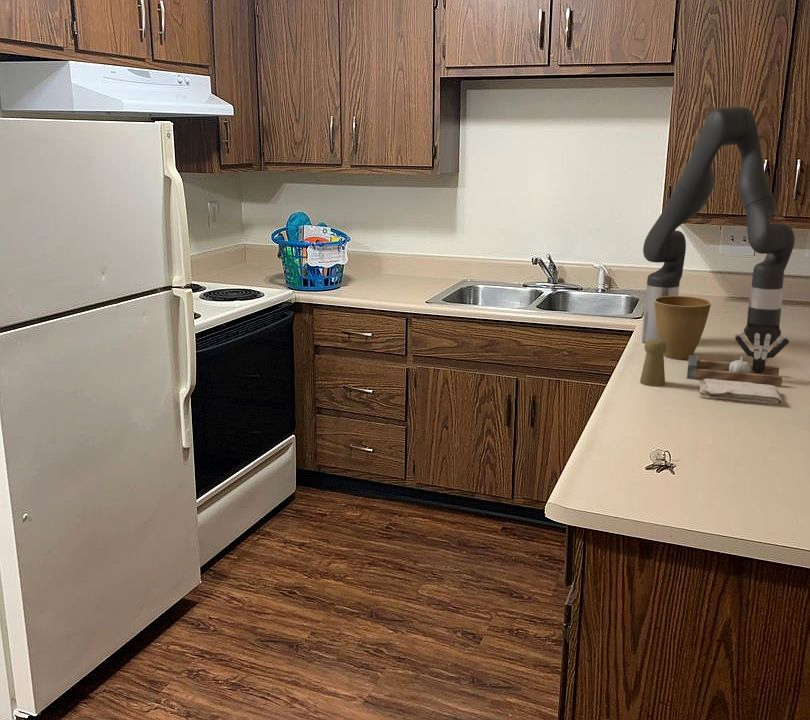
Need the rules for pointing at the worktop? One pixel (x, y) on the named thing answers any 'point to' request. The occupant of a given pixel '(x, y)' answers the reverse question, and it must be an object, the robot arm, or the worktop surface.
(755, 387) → the washcloth
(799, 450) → the worktop surface
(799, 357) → the worktop surface
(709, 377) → the guide track
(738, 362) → the garlic
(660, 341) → the olive green shaker
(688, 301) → the plant pot
